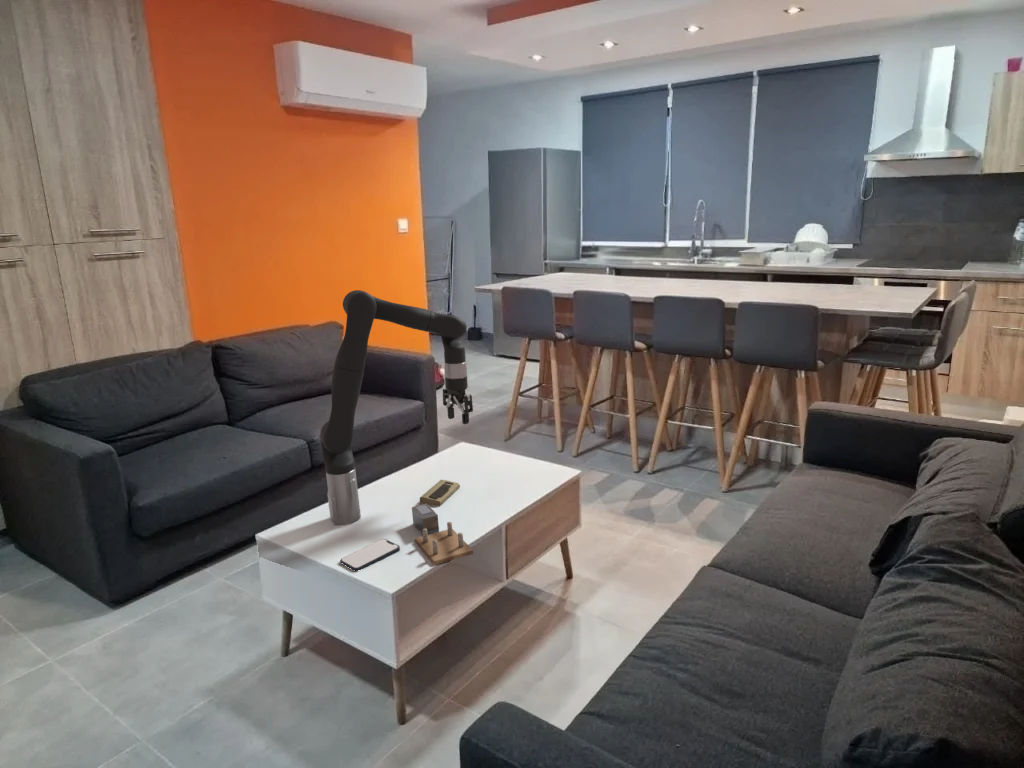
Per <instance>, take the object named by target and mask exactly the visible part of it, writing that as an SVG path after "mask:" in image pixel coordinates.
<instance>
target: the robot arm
mask: <svg viewBox="0 0 1024 768" xmlns="http://www.w3.org/2000/svg"><path fill="white" fill-rule="evenodd" d="M342 309H343V311H344V313H345V314H346V323H345V332H344V336H343V340H342V343H341V345H340V347H339V349H338V351H337V354H336V357H335V360H334V365H333V370H332V376H331V378H332V379H331V411H330V414H329V419H328V421H327V422H325V423H324V424H323V425H322V427H321V429H320V444H321V450H322V458H323V464H324V468H325V477H326V483H327V484H326V485H327V491H326V493H327V501H328V509H329V517H330V520H331V522H332V523H333V525H334V526H337V525H349V524H353V523H356V522H357V521H359V520H360V519H361V515H362V514H361V506H360V498H359V490H358V482H357V481H358V480H357V473H356V462H355V459H354V454H353V450H352V443H353V439H354V427H355V426H354V425H355V415H356V409H357V406H358V401H359V397H360V394H361V389H362V384H363V378H364V375H365V368H366V359H367V353H368V345H369V344H368V343H369V338H370V334H371V331H372V326H373V323H374V321H375V320H380V321H385V322H388V323H393V324H395V325H400V326H402V327H405V328H409V329H412V330H418V331H422V332H426V333H434V334H437V335H440V337H441V341H442V345H443V356H444V365H443V366H444V367H443V368H444V369H443V371H444V386H445V387H444V388H443V389H442V405H443V406H445V407H446V409H447V419H449V420H452V419H455V408H454V407H455V405H456V406H457V407H458V409H460V411H461V418H462V424H463V425H468V424H469V423H470V417H469V416H470V413H472V412H474V409H473V408H474V407H473V396H472V394H471V393H470V394H466V390H467V389H468V387H469V385H468V369H467V363H466V361H467V360H466V349H465V348H466V347H465V346H464V344H463V342H462V339H461V338H462V337H463V336H464V335H465V334H466V332H467V330H468V329H467V323H466V322H465V320H464V319H462V318H461V317H460V316H456V315H454V314H448V315H447V314H443V313H439V312H436V311H434V310H430V309H426V308H422V307H416V306H412V305H407V304H401V303H397V302H393V301H389V300H388V301H387V300H384V299H381V298H379V297H376V296H373V295H372V294H370V293H368V292H366V291H364V290H360V289H357V290H352V291H349V292H348V293H347V294H346V295H344V298H343V299H342Z"/></svg>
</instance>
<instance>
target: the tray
mask: <svg viewBox="0 0 1024 768" xmlns="http://www.w3.org/2000/svg"><path fill="white" fill-rule="evenodd" d="M446 526H447V528H446V529H445V530H442V531H439V532H437V533H433V534H430V535H427V529H422V533H423V535H422V536H419V537H416V538H414V542H415V544H416V545H417V546H418V548H419V549H420V550H421V551H422V552H423V553H424V555H425V556H426V557H427V559H429V561H430V562H431V564H432V565H433V566H437V565H439V564H444V563H446V562H450V561H453V560H457V559H460V558H464V557H467V556H471V555H474V549H473V548H472V547H470V546H469V544H468V543H467V542H465V540H464V533H463V532H458V533H457V532H456V531H455V530H454V529H453V522H452V521H448V522H447V523H446Z"/></svg>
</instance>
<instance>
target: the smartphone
mask: <svg viewBox="0 0 1024 768" xmlns="http://www.w3.org/2000/svg"><path fill="white" fill-rule="evenodd" d="M400 551H401V548H400V545H399V544H396V543H395V542H392V541H390V540H388V539H385V538H381V539H379V540H378V541H375V542H373V543H371V544H369V545H367V546H365V547H363V548H361V549H359V550H356V551H355V552H353V553H351V554H348V555H346V556H344V557H342V558H341V559H340V560H339V561H340V562H341V563H343V564H344V565H346V566H347V567H349V568H351V569H352V570H355V571H354V572H359V571H358V570H360V571H361V569H362V570H363V569H366V568H368V567H371V566H372V565H374V564H376V563H379V562H380V561H382V560H384V559H386V558H389V557H390V556H392V555H394V554H397V553H398V552H400ZM341 563H340V564H341ZM344 565H343V566H344ZM347 567H346V568H347ZM349 568H348V569H349ZM351 569H350V570H351ZM352 570H351V571H352Z"/></svg>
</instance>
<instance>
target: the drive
mask: <svg viewBox="0 0 1024 768" xmlns="http://www.w3.org/2000/svg"><path fill="white" fill-rule="evenodd" d="M411 514H412V523H413V524H412V525H414V527H415V528H416V529H417V531H419V533H420V534H421V535H422V536H423V533H422V529H427V535H430V534H433V533H437V532H440V527H439V516H438V514H437V513H436V511H434V510H433V508H431V506H430V505H428V504H419V505H416V506H411Z"/></svg>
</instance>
